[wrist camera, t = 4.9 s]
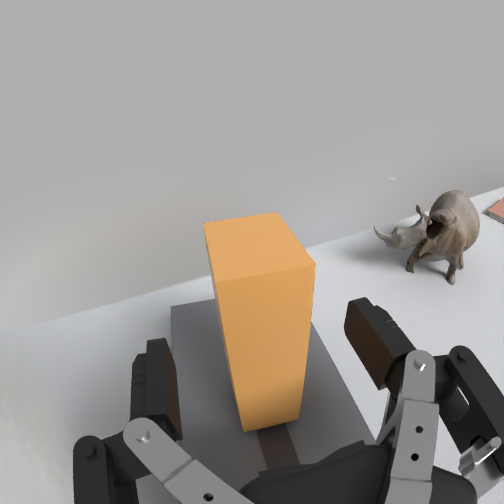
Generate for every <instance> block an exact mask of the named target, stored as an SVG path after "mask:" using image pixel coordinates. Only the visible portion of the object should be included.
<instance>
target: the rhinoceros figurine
mask: <svg viewBox="0 0 504 504" xmlns="http://www.w3.org/2000/svg"><path fill="white" fill-rule="evenodd" d="M416 211H417V212H418V213H419V214H420V216H421V218H420V219H419V220H418V221H417V222H416V224H414V225H413V226H411V227H408V228H401V227H396V228H395V229H394V231H393V232H392V233H390V234H385V233H383V232H381V231H379V230H378V229H377V228H376V227H375V226H374V230H375V232H376V234H377V236H378V237H379V238H380V239H382V240H384V241H385V242H386V244H387V246H389V247H392V248H397V249H406V248H408V247H411V246H415V245H417V246H416V247H415V249H414V250H413V252H412V254H411V255H410V257H409V260H408V261H407V266H406V271H407V272H412V273H414V272H413V264H414V263H415V262H416V261H418V260H419V259H420V258H421V259H422V260H429V261H440V260H447V261H448V262H449V263H450V265H449V268H448V271H447V275H448V277H449V279H448V280H447V281H448V282H449V283H450V284H452V285H454V283H455V271H456V269H457V268H458V269H460V270H461V269H464V264H463V252H464V251H466V250H467V249H469V248H470V247H471V246H472V245H473V244H474V242H475V241H476V239H477V237H478V234H479V227H480V221H479V216H478V213H477V210H476V208H475V207H474V205H473V204H472V202H471V201H470V199H469V198H468V197H467V195H465V193H464V192H463V191H461V190H454V191H449V192H445V193H444V194H442V195H441V196H440V197H439V198H438V199H437V200H436V201H435V203H434V204H433V206H432V207H431V210H430V213H429V216H426V215H425V213H424V212H423V211H422V209H421V207H420V206H419V205H417V206H416Z"/></svg>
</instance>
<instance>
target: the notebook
mask: <svg viewBox="0 0 504 504" xmlns="http://www.w3.org/2000/svg"><path fill="white" fill-rule="evenodd" d="M488 211H489V212H490V213H489V217H491V218H493V219H495V220H497V221H499V222H501V223H503V224H504V197H503V198H502V199H501V200H500V201H498V202H497V203H496V204H495V205H494V206H492V207H491V208H490V209H489V210H488Z"/></svg>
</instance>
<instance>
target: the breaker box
mask: <svg viewBox="0 0 504 504" xmlns="http://www.w3.org/2000/svg"><path fill="white" fill-rule="evenodd" d="M171 331H172V353H173V359H174V362H175V366H176V372H177V384H178V396H179V407H180V417H181V426H182V435H183V440H180V444H181V448H182V449H183V450H184V451H185V452H186V453H187V454H188V455H190V456H191V457H192V458H195V459H196V460H197V461H199V462H200V463H201V464H202V465H204V466H205V467H206V468H207V469H209V470H210V471H211V472H212V473H213V474H215V475H216V476H217V477H219V478H220V479H221V480H222V481H224V482H225V483H226V484H228V485H229V486H230V487H232V488H233V489H234V490H236V491H237V492H238V491H239V490H240V489H241V488H242V487H243V486H245V485H246V484H247V483H248V482H250V481H252V480H253V479H255V478H257V477H259V472H260V471H264V470H269V469H273V468H277V467H281V466H285V465H301V464H314V463H317V462H319V461H320V460H322V459H324V458H325V457H327V456H329V455H330V454H332V453H333V452H335V451H336V450H338V449H340V448H342V447H345V446H348V445H350V444H353V443H355V442H358V441H360V440H363V441H364V443H365V445H366V444H375V443H376V441H375V439H374V437H373V435H372V434H371V432H370V430H369V428H368V426H367V424H366V422H365V420H364V418H363V416H362V415H361V413H360V411H359V409H358V407H357V405H356V403H355V401H354V399H353V398H352V396H351V394H350V392H349V390H348V388H347V386H346V384H345V383H344V381H343V379H342V377H341V375H340V373H339V371H338V370H337V368H336V366H335V364H334V362H333V360H332V359H331V357H330V355H329V353H328V351H327V349H326V347H325V346H324V344H323V342H322V340H321V338H320V337H319V335H318V333H317V331H316V329H315V327H314V326H313V324H312V322H311V326H310V335H309V345H308V354H307V362H306V370H305V378H304V386H303V393H302V400H301V407H300V414H299V419H297V420H293V421H289V422H286V423H282V424H278V425H274V426H270V427H266V428H261V429H257V430H252V431H248V432H244V431H243V428H242V424H241V420H240V416H239V412H238V408H237V404H236V400H235V395H234V391H233V387H232V383H231V379H230V374H229V369H228V364H227V359H226V354H225V349H224V344H223V339H222V333H221V328H220V323H219V317H218V312H217V306H216V300H215V299H212V300H206V301H201V302H195V303H189V304H183V305H177V306H171Z"/></svg>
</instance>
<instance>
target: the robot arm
mask: <svg viewBox="0 0 504 504" xmlns="http://www.w3.org/2000/svg"><path fill="white" fill-rule="evenodd" d="M344 331H345V335H346V337H347V339H348V340H349V342H350V344H351V345H352V347H353V349H354V350H355V352H356V353H357V355H358V357H359V358H360V360H361V362H362V363H363V365H364V367H365V368H366V370H367V372H368V373H369V375H370V377H371V378H372V380H373V382H374V383H375V385H376V387H377V388H378V390H381V389H384V388H386V387H387V388H388V389H389V393H388V397H387V403H386V408H385V413H384V418H383V423H382V427H381V430H380V433H379V435H378V437H377V440H376V443H375V444H366V445H365V443H364V441H363V440H360V441H358V442H355V443H353V444H350V445H348V446H345V447H342V448H340V449H338V450H336V451H335V452H333V453H332V454H330V455H329V456H327V457H325V458H324V459H322V460H320V461H319V462H317V463H314V464H301V465H285V466H281V467H277V468H273V469H269V470H264V471H260V472H259V477H257V478H255V479H253V480H252V481H250V482H248V483H247V484H246V485H245V486H243V487H242V488H241V489H240V490H239V491H238V492H237V491H236V490H234V489H233V488H232V487H230V486H229V485H228V484H226V483H225V482H224V481H222V480H221V479H220V478H219V477H217V476H216V475H215V474H213V473H212V472H211V471H210V470H209V469H207V468H206V467H205V466H204V465H202V464H201V463H200V462H199V461H197V460H196V459H195V458H192V457H191V456H190V455H188V454H187V453H186V452H185V451H184V450H183V449H182V448H181V447H180V446H178V445H177V444H176V440H183V435H182V426H181V417H180V407H179V396H178V384H177V372H176V366H175V362H174V359H173V357H172V354H171V352H170V349H169V346H168V344H167V341H166V339H165V338H160V339H153V340H148V341H147V350H146V353H143V354H138V355H137V357H136V359H135V361H134V362H133V364H132V382H131V384H132V386H131V412H130V421H129V423H128V424H127V425H126V426H125V428H124V430H123V431H122V432H120V433H118V434H116V435H113V436H111V437H108V438H105V439H102V440H100V439H99V438H97V437H95V436H84V437H82V438H80V439H79V440H78V441H77V442H76V444H75V446H74V449H73V483H74V503H75V504H139V501H138V495H137V488H136V479H138V478H141V477H144V476H147V475H149V474H152V473H153V474H154V475H155V476H156V477H157V478H158V479H159V481H160V482H161V483H162V484H163V486H164V487H165V488H166V489H167V490H168V491H169V492H170V493H171V494H173V495H174V496H175V497H176V498H177V499H178V500H179V501H180V502H181V503H182V504H477V499H478V498H480V497H481V496H482V495H484V494H485V493H486V492H488V491H489V490H490V489H491V488H493V487H494V486H495V485H496V484H497V483H499V482H500V481H502V480H504V396H503V394H502V393H501V391H500V390H499V388H498V387H497V385H496V384H495V382H494V381H493V380H492V378H491V377H490V375H489V374H488V373H487V371H486V370H485V368H484V367H483V366H482V364H481V363H480V361H479V360H478V359H477V357H476V356H475V355H474V353H473V352H472V351H471V350H470V349H469V348H467V347H465V346H455V347H453V348H452V349H451V351H450V352H449V354H448V355H441V356H432V355H431V354H429V353H428V352H426V351H423V350H417V349H416V348H415V347H414V346H413V344H412V343H411V342H410V340H409V339H408V338H407V337H406V335H405V334H404V333H403V331H402V330H401V329H400V328H399V327H398V325H397V324H396V323H395V321H393V319H392V318H391V316H390V315H389V314H388V313H387V311H385V310H384V309H382V308H381V307H379V306H378V305H376V306H373V305H372V304H371V302H370V301H369V300H368V299H367V298H366V297H363V298H359V299H355V300H352V301H349V303H348V307H347V313H346V318H345V323H344ZM458 387H459V388H460V389H461V391H462V392H463V394H464V396H465V397H466V399H467V400H468V402H469V405H468V404H467V402H466V400H465V399H464V397H463V396H462V394H461V393H460V391H459V389H458ZM439 415H440V417H441V418H442V420H443V422H444V424H445V426H446V427H447V429H448V431H449V433H450V435H451V437H452V438H453V440H454V442H455V444H456V446H457V448H458V450H459V452H460V454H461V457H460V465H459V467H458V470H459V472H460V473H462V476H460V475H457V474H455V473H452V472H449V471H446V470H444V469H441V468H439V467H436V466H433V461H434V454H435V447H436V439H437V430H438V419H439Z"/></svg>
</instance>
